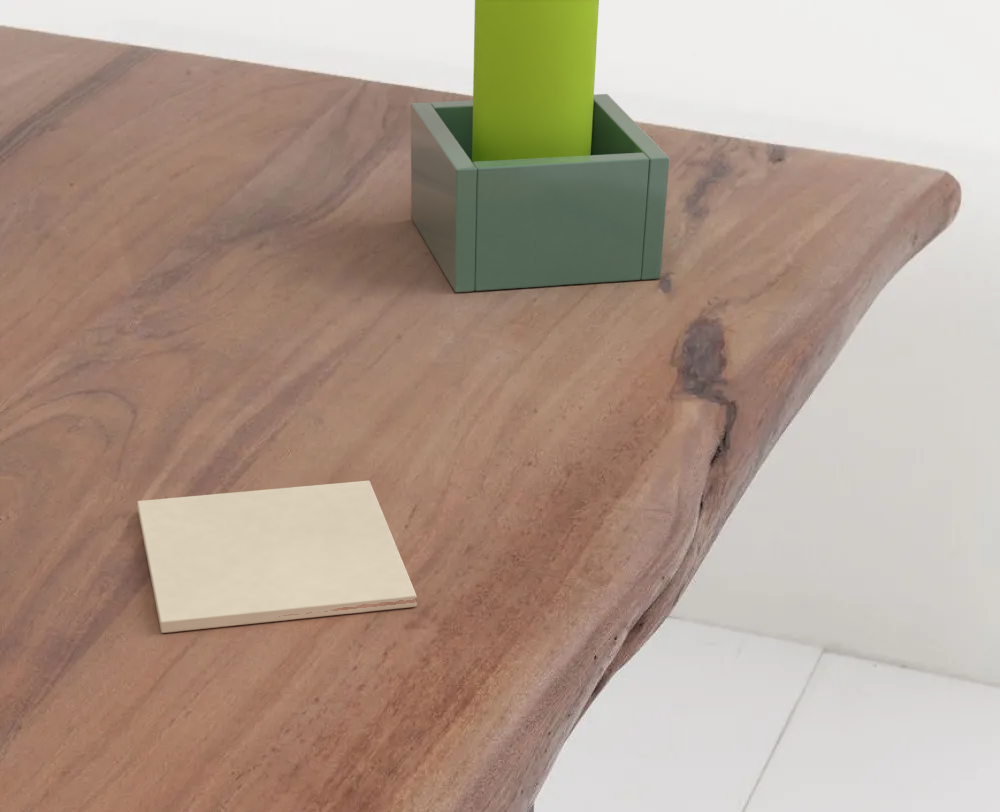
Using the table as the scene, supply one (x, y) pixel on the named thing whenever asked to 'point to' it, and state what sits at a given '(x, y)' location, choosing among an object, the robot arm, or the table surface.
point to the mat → (270, 556)
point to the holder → (538, 204)
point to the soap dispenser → (533, 78)
